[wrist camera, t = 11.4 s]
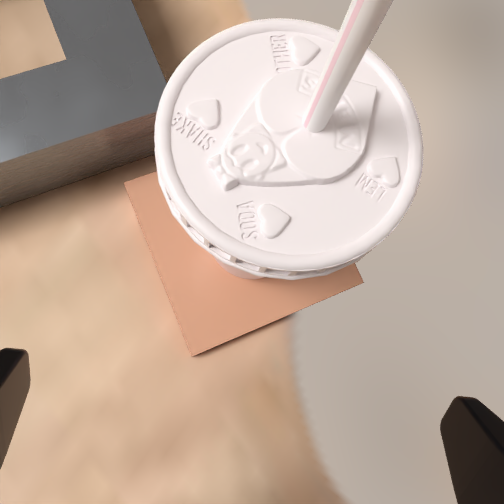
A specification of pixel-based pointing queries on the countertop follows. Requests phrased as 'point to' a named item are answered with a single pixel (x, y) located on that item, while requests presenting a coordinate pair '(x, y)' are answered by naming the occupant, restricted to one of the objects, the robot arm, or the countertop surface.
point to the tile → (218, 279)
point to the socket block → (80, 101)
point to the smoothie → (289, 145)
